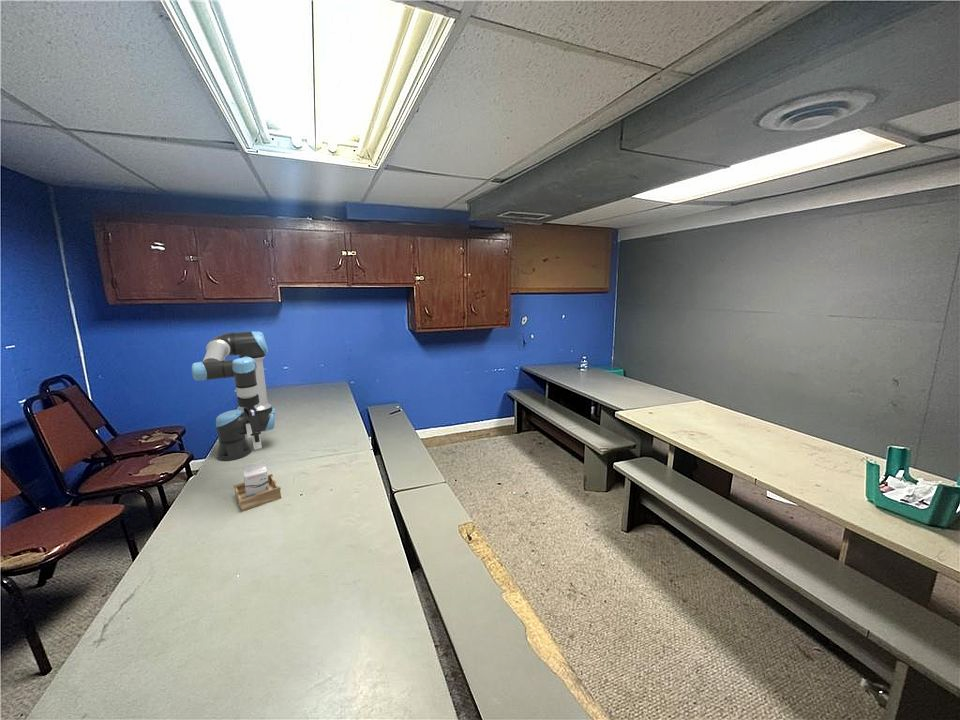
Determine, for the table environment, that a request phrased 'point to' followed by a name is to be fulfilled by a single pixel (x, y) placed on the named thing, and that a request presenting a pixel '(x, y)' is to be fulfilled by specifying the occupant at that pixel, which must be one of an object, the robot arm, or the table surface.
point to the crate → (257, 495)
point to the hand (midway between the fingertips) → (254, 442)
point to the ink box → (255, 478)
